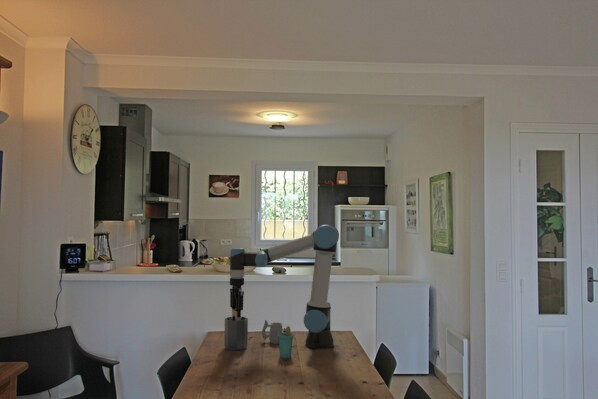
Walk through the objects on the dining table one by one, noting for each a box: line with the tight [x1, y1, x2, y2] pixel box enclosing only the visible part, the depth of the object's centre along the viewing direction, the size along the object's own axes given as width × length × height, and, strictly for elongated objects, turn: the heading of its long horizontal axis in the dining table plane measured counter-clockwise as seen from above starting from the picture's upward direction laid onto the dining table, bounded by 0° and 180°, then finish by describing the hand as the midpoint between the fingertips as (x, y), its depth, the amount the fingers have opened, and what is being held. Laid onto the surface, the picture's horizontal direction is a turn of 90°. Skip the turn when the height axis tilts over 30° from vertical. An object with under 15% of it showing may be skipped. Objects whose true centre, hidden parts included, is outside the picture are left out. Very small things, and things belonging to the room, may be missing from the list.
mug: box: [261, 319, 284, 345], centre depth 255 cm, size 8×12×12 cm, turn 98°
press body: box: [223, 316, 249, 351], centre depth 244 cm, size 15×11×15 cm
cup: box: [278, 325, 295, 359], centre depth 226 cm, size 14×8×15 cm, turn 175°
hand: (236, 322), depth 243 cm, fingers closed on plunger, 4 cm apart
